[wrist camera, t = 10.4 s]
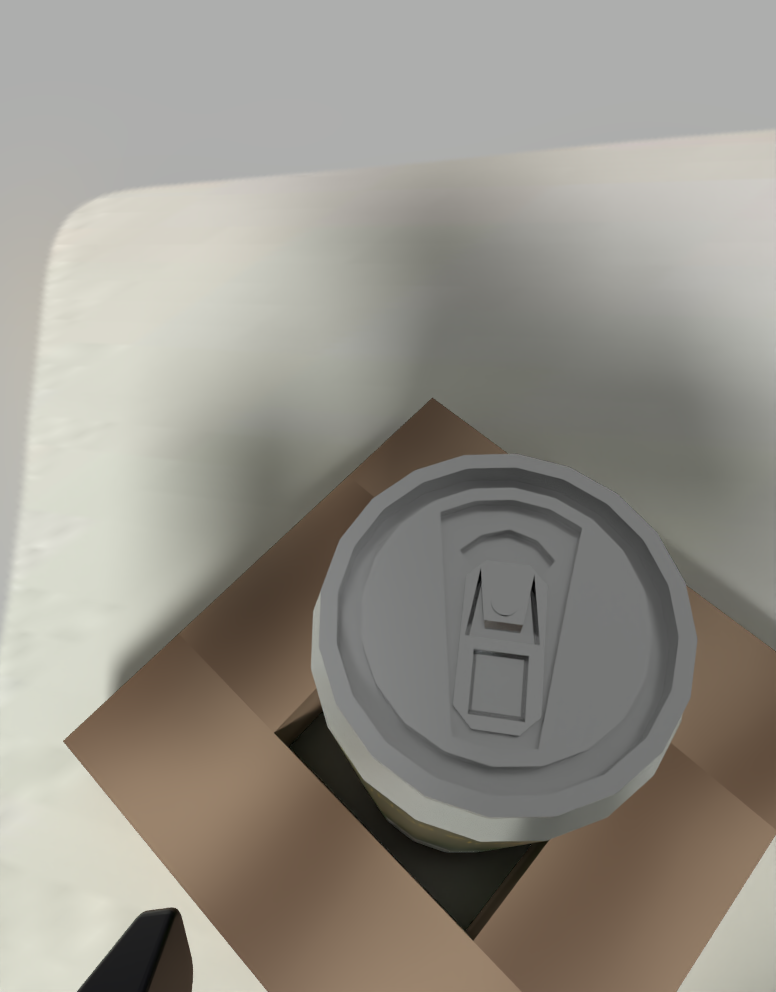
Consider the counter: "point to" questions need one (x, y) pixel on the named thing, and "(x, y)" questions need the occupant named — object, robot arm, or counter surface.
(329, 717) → the beer can
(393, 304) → the counter surface
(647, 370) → the counter surface
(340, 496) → the hole board
